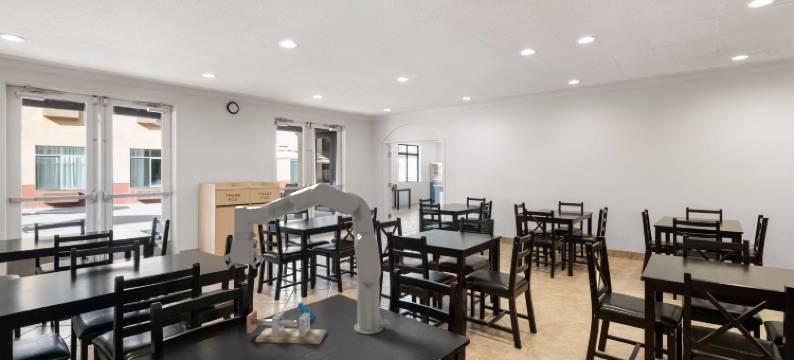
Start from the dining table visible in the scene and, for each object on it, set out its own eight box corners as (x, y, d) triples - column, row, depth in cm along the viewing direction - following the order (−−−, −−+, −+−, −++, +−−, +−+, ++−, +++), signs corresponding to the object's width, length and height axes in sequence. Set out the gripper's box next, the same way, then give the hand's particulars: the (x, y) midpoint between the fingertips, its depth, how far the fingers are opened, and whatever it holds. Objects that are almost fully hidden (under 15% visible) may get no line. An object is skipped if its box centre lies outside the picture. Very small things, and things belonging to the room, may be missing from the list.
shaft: (299, 328, 163) (298, 311, 162) (294, 334, 157) (294, 317, 156) (253, 327, 164) (253, 310, 164) (247, 333, 158) (246, 316, 158)
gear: (312, 320, 174) (297, 303, 175) (302, 330, 173) (287, 313, 175) (318, 314, 185) (304, 299, 186) (309, 323, 184) (295, 308, 186)
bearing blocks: (309, 330, 163) (309, 312, 163) (304, 337, 156) (304, 319, 156) (278, 329, 164) (278, 312, 164) (271, 336, 157) (271, 318, 157)
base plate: (326, 333, 164) (326, 329, 164) (319, 343, 154) (319, 340, 154) (265, 331, 166) (265, 328, 166) (255, 341, 156) (255, 338, 156)
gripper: (267, 235, 164) (267, 275, 164) (229, 233, 166) (228, 273, 166) (259, 238, 156) (258, 280, 157) (219, 236, 158) (218, 278, 159)
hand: (243, 277), depth 161 cm, fingers open, 9 cm apart
